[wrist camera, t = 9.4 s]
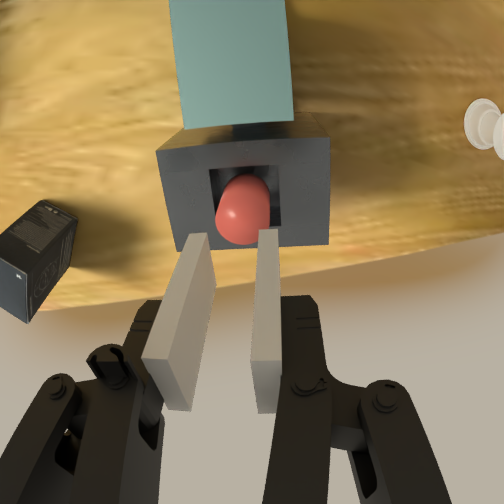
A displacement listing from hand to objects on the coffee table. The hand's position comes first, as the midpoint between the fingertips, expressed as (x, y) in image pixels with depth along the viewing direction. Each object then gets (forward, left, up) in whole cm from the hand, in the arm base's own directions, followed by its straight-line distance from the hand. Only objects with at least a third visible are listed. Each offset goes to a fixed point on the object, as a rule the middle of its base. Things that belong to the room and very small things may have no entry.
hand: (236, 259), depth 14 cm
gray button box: (0, 0, -16) cm, 16 cm away
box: (-24, -6, -17) cm, 30 cm away
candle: (+23, +4, -17) cm, 29 cm away
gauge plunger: (0, 0, -7) cm, 7 cm away
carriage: (0, +8, -16) cm, 19 cm away
